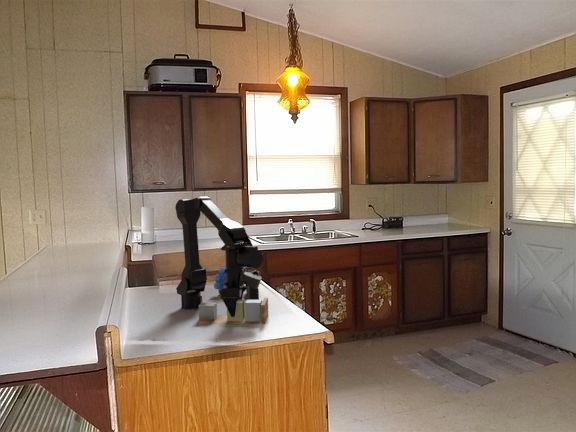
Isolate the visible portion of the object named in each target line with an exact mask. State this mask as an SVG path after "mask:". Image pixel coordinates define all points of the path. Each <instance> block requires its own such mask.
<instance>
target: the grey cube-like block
mask: <svg viewBox="0 0 576 432" xmlns="http://www.w3.org/2000/svg"><path fill="white" fill-rule="evenodd" d="M217 304H218V302H202V303H201V304H200V305H199V308H198V321H215V320H216V318H217V315H218V305H217Z"/></svg>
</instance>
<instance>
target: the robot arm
mask: <svg viewBox="0 0 576 432" xmlns="http://www.w3.org/2000/svg"><path fill="white" fill-rule="evenodd" d="M174 209H175V213H176V218H177V220H178V221H179V222H180V223H181V227H182V235H183V238H182V239H183V247H184V248H183V250H184V261H185V262H184V264H185V265H184V268H183V269H182V272H181V281H180V282H179V283H178V285H177V286H176V288H175V290H176V293H177V295H180V299H181V301H180V302H181V309H184V310H195V309H197V310H199V305H200V304H201V303H203V296H202V295H201V294H202V293H201V292H205V290H206V285H207V280H208V277H207V269H206V268H204V267H203V266H202V265H201V262H200V252H199V250H200V249H199V236H198V221H199V220H200V218H201V215H202V214H203V215H204V216H205V217H206V219H208V221H209V222H210V223H211V224H212V225H213V226H214V227H215V228H216V229H217V232H218V234H217V235H218V237H219V238H220V240H221V241H222V243H223V246H221V247H220V251H225V252H224V253H225V255H224V256H225V258H224V259H225V268H226V269H224V273H226V282H225V285H229V286H224V287H223V288H222V289H221V290H220V294H219V298H220V299H221V300H222V302H223V303H224V305H225V307H226V310H227V309H228V311H229V313H230V315H231V317H235V312H236V305H237V301H238V300H243V295H244V292H246V289H247V288H248V286H251V287H253V288H255V289H259V287H260V284H261V282H262V276H261V275H260V271H259V270H256V269H259V268H260V267H261V266H262V264H263V261H264V256H263V254H262V252H261V251H260V250H259V247H258V245H253V243H252V240H251V239H250V238H249V235H248V234H247V231H246V229H245V227H244V226H243V225H242V224H240V223H238V222H237V221H235V220H231V219H230V218H228V216H226V215H225V214H224V212H223V211H221V210H220V208H219V207H218V206H217V205H216V204H215V203H214V202H213V201H212V199H211V198H210V196H209V197H208V196H197V197H194V198H182V199H181V198H180V199H178V201H177V202H176V203H175V208H174ZM201 213H202V214H201ZM246 268H252V269H254V271H252V272H253V273H251V272H250V273H249V272H247V269H246Z"/></svg>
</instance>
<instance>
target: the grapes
mask: <svg viewBox="0 0 576 432" xmlns="http://www.w3.org/2000/svg"><path fill="white" fill-rule="evenodd" d="M224 269H226V266H225V267H224V266H223V267H222V266H221V268H220V269H219V272H218V273H217V274H215V276H214V278H213V279H214V282H215V283H214V284H213V288H214V289H215V290H217V292H218V295H220V290H221V289H222V288H223V287H224V286H229V285H225V282H226V273H224Z"/></svg>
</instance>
